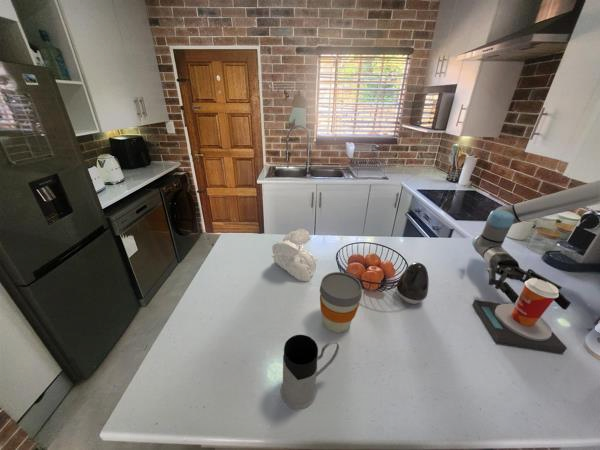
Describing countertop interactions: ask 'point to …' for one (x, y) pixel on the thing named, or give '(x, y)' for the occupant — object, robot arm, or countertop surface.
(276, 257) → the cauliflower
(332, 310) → the reusable coffee cup
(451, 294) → the countertop surface
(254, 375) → the countertop surface
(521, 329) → the scale
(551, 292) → the paper cup
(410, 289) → the dark egg shaped ornament
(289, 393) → the glass holder
